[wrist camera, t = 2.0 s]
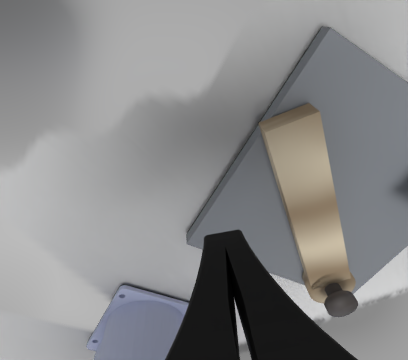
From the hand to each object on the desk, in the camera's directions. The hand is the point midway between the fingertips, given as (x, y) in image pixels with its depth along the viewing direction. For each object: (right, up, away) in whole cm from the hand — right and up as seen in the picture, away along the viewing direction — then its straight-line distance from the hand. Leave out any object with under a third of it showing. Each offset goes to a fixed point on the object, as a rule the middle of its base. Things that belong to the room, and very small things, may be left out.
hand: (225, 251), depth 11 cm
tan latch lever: (+7, 0, +10) cm, 12 cm away
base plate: (+9, +2, +10) cm, 14 cm away
